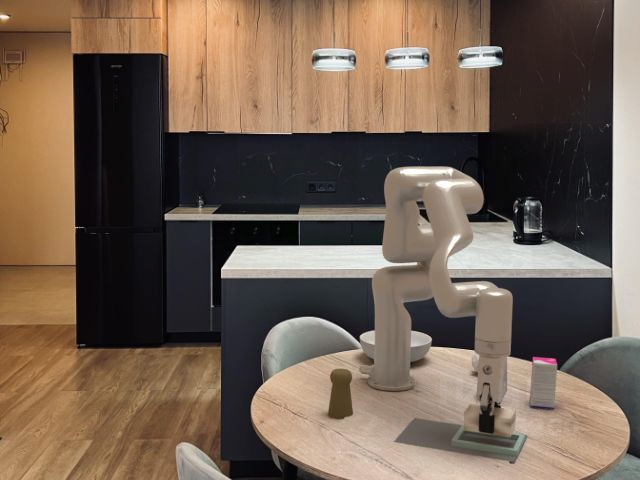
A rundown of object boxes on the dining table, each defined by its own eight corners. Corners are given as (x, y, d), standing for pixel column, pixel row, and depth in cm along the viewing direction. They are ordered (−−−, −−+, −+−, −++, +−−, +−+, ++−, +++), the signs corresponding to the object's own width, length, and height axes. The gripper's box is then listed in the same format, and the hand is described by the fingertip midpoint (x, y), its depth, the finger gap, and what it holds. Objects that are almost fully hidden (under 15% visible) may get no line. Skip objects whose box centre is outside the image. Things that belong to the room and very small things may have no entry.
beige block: (515, 427, 185) (515, 410, 185) (510, 437, 180) (511, 419, 179) (469, 421, 189) (470, 403, 188) (463, 430, 183) (464, 412, 183)
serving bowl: (434, 353, 255) (435, 330, 254) (427, 373, 235) (427, 349, 234) (366, 348, 260) (366, 326, 259) (353, 367, 240) (353, 343, 239)
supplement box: (555, 410, 207) (557, 364, 206) (530, 408, 208) (532, 362, 207) (553, 402, 213) (555, 357, 211) (529, 400, 214) (531, 356, 212)
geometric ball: (491, 383, 236) (510, 362, 234) (478, 379, 230) (497, 358, 228) (474, 364, 240) (493, 344, 239) (460, 360, 235) (479, 339, 233)
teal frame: (451, 445, 183) (451, 440, 183) (461, 430, 192) (462, 425, 192) (517, 456, 178) (517, 450, 177) (524, 439, 187) (525, 434, 187)
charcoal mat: (393, 443, 185) (393, 441, 185) (414, 419, 199) (414, 417, 199) (514, 463, 175) (514, 461, 175) (526, 436, 190) (527, 435, 189)
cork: (356, 412, 204) (357, 367, 202) (348, 420, 198) (349, 374, 197) (332, 408, 206) (333, 364, 204) (324, 417, 200) (325, 372, 199)
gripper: (502, 358, 172) (499, 443, 175) (517, 338, 188) (513, 417, 191) (466, 354, 175) (463, 438, 178) (483, 335, 191) (480, 412, 193)
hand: (489, 426), depth 184 cm, fingers closed on beige block, 6 cm apart
